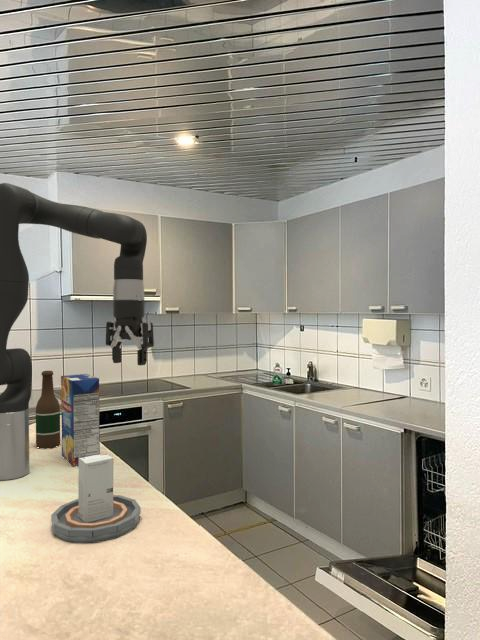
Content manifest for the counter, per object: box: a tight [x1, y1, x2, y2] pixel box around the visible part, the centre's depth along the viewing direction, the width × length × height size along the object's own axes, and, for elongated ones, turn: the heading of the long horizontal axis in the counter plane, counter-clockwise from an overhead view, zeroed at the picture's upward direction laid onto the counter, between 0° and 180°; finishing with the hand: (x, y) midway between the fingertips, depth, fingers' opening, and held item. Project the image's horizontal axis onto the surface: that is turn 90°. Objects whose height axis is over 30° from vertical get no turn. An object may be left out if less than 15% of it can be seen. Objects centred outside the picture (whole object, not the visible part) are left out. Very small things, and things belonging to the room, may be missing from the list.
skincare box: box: [77, 453, 114, 523], centre depth 98 cm, size 6×4×12 cm
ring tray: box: [50, 494, 142, 544], centre depth 98 cm, size 17×17×2 cm
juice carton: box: [60, 373, 101, 468], centre depth 139 cm, size 12×8×24 cm, turn 35°
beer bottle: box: [35, 370, 61, 449], centre depth 153 cm, size 8×8×24 cm
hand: (129, 364), depth 119 cm, fingers open, 8 cm apart
